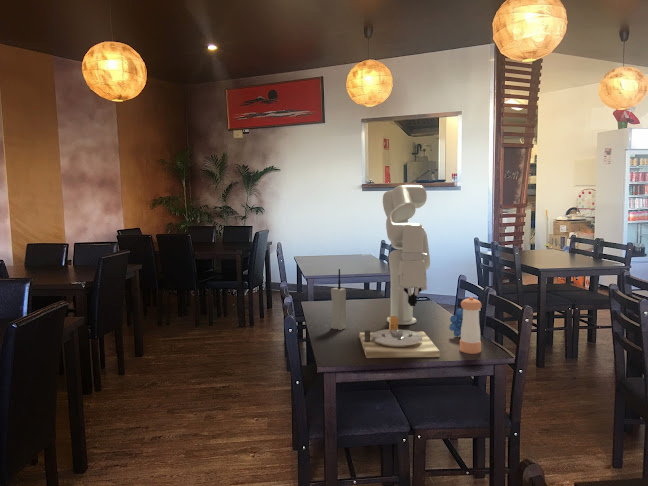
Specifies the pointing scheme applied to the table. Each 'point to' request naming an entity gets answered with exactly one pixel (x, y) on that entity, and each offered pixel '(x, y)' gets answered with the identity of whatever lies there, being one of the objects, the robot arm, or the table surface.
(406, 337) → the flange
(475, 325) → the pepper shaker
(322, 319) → the table surface
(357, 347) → the table surface
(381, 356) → the base board
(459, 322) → the grapes
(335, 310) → the vintage mobile phone
